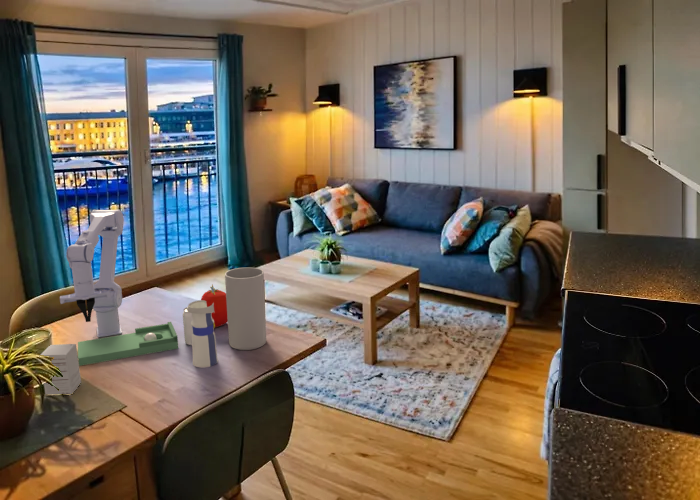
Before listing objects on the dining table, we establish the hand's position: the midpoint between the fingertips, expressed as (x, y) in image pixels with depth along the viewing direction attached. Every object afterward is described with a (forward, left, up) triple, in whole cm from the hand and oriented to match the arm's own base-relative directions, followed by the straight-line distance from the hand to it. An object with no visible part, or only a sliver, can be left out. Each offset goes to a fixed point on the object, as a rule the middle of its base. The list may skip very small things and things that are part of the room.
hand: (88, 320), depth 184 cm
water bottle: (+25, +32, -11) cm, 42 cm away
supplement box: (+26, -8, -11) cm, 29 cm away
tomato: (-3, +42, -11) cm, 44 cm away
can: (+8, +32, -11) cm, 35 cm away
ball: (+3, +18, -8) cm, 20 cm away
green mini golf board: (+4, +11, -10) cm, 16 cm away
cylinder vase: (+17, +48, -11) cm, 52 cm away
